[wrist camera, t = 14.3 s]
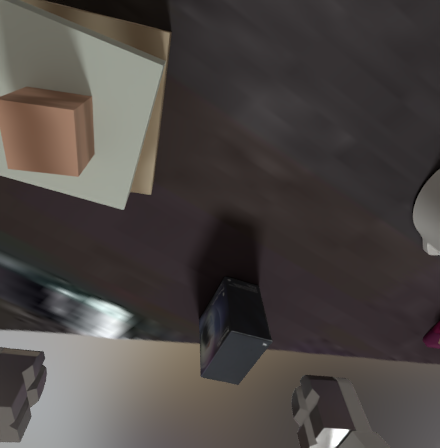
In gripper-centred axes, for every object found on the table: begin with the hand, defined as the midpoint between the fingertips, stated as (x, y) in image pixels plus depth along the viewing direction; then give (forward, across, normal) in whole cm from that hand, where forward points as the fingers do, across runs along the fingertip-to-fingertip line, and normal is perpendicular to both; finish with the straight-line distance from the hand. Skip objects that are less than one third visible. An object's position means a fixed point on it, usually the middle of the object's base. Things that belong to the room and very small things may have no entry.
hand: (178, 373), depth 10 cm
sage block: (+26, +12, 0) cm, 29 cm away
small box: (+31, -10, +27) cm, 42 cm away
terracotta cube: (+22, +12, 0) cm, 25 cm away
